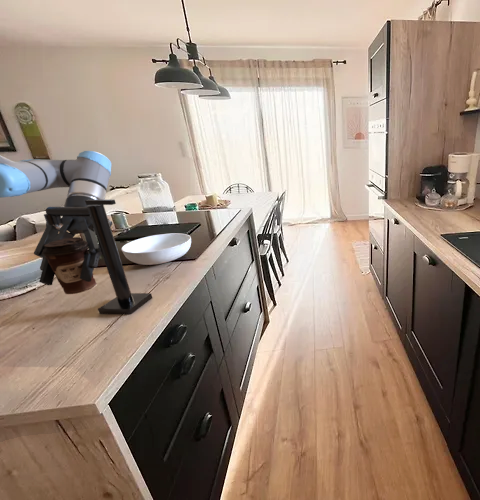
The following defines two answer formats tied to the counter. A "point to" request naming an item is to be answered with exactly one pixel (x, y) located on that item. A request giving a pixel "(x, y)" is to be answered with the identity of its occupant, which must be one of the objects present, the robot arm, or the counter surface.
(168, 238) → the serving bowl
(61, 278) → the coffee cup
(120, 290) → the tap
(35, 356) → the counter surface
